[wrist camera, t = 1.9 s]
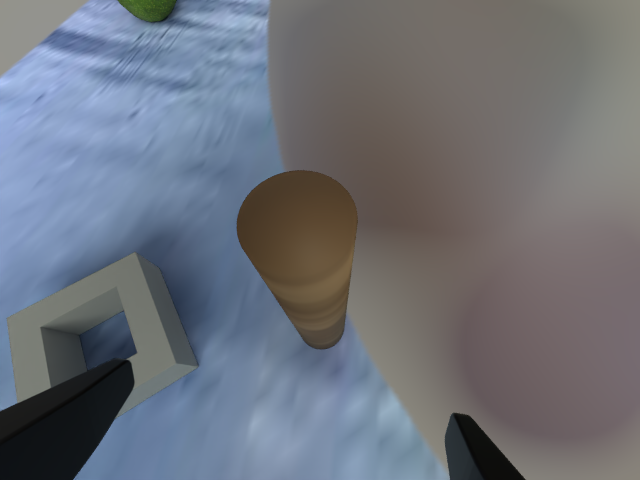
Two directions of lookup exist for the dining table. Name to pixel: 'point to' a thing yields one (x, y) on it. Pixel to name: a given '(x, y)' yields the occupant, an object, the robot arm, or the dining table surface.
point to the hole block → (90, 310)
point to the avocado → (149, 8)
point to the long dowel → (303, 249)
